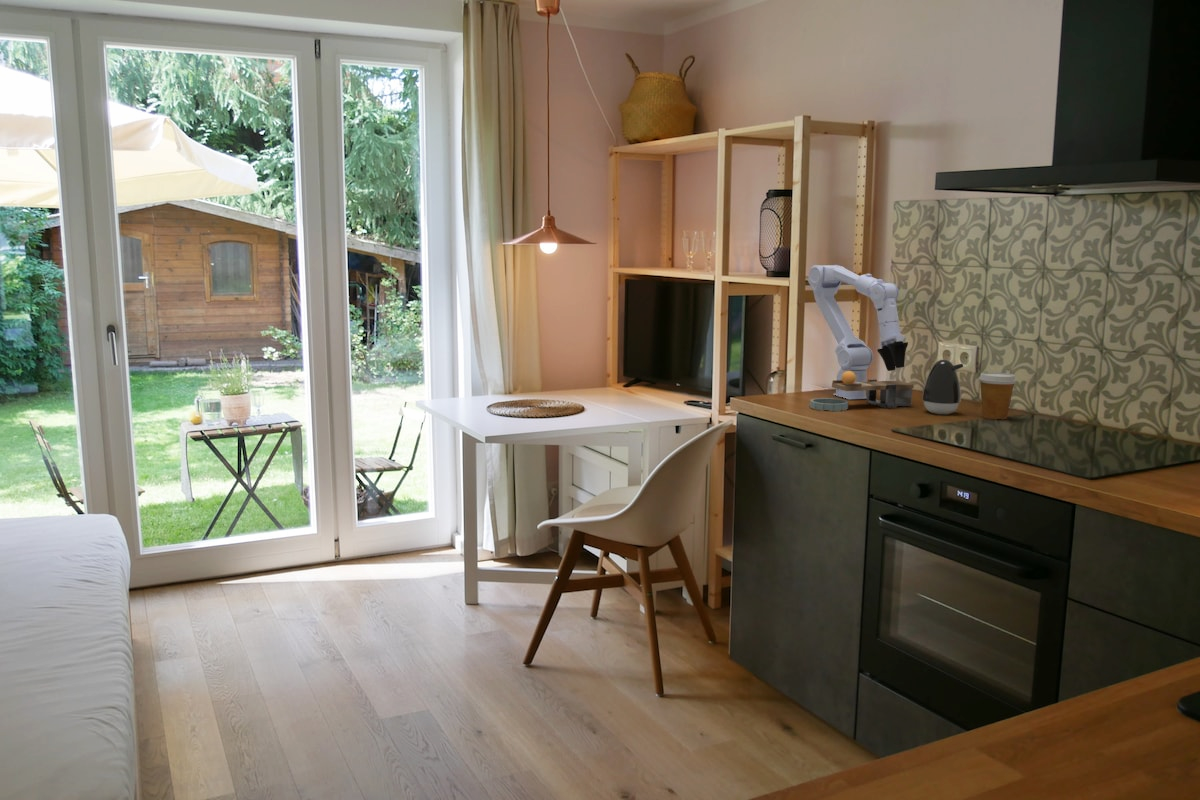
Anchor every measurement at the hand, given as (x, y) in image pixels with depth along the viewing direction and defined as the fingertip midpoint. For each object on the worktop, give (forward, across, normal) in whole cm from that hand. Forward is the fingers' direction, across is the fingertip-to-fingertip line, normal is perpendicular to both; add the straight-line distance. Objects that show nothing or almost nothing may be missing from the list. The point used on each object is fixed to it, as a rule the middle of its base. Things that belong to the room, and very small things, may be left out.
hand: (895, 369), depth 286 cm
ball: (+1, -2, +15) cm, 15 cm away
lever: (+9, +2, +8) cm, 12 cm away
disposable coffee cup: (+18, -16, -20) cm, 31 cm away
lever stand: (+10, +3, +2) cm, 11 cm away
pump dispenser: (+15, -9, -8) cm, 19 cm away
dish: (+9, -2, +22) cm, 24 cm away
